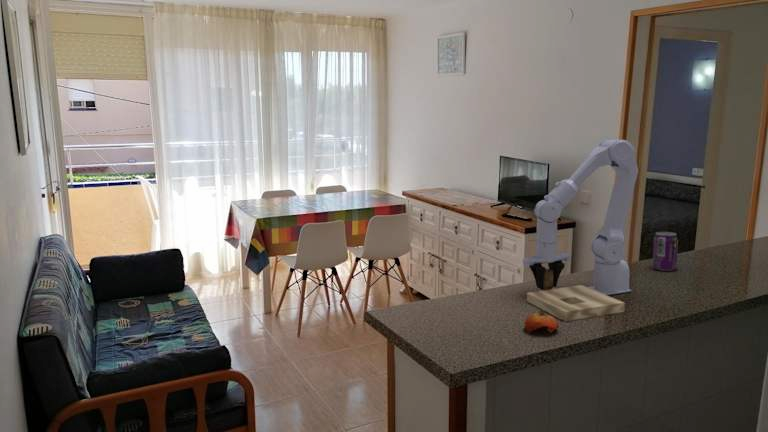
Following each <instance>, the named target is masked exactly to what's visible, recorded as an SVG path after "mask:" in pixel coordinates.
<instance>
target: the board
mask: <svg viewBox="0 0 768 432" xmlns="http://www.w3.org/2000/svg"><path fill="white" fill-rule="evenodd" d="M587 287H588V286H585V285H582V284H579V285H571V286H565V287H558V288H557V287H556V288H552V289H550V290H543V291H541V290H538V291H530V292H526V302H527V303H529V304H531V305H533V306H535V307H537V308H538V309H541V310H544V312H545V313H546V312H547V313H549V314H550V315H551V316H553V317H556V318H558V319H560V320H562V321H564V322H570V321H576V320H582V319H588V318H589V319H590V318H593V317H601V316H608V315H614V314H619V313H625V309H626V308H625V305H626V304H625V301H621V300H619V299H617V298H615V297H611V295H605V294H602V293H600V292H597V291H595V290H592V289H590V288H587Z"/></svg>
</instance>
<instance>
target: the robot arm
mask: <svg viewBox="0 0 768 432" xmlns="http://www.w3.org/2000/svg"><path fill="white" fill-rule="evenodd" d="M636 151H637V150H636V148H634V146H633V145H632V144H631V143H630V142H629V141H628V140H626V139H612V138H606V139H604V140H601V142H600V143H599V145H597V146H596V147H594V148H593V150H592V151H591V152H590V154H589V155H588V157H587V158H585V160H584V161H583V162H582V163H581V165H580V166H579V167H578V168H577V169H576V170H575V171H574V172H573V174H572V175H571V176H570V177H569V178H568V179H562V180H561V181H557V182H556V183H555V184H554V185H555V187H554V188H553V189H552V190H551V191H550V192H549V193H548V194H546V195H544V197H543V198H544V199H542V200H540V201H538V202H537V203H536V205H535V207H534V209H533V214H534V215H535V217H536V255H533V256H530V257H525V258H522V266H524V267H529V269H530V271H531V273H532V274H533V277H534V281H535V284H536V288H537V289H540V290H541V289H543V278H544V272H545V269H547V268H546V267H545V266H543V264H547V265H548V269H552V270H553V285H554V286H553V288H557V285H558V281H559V278H560V275H561V273H562V271H563V270H564V268H565V266H566V264H565V263H564V262H570V261H571V254H570V253H558V219H559V218H560V217H561V214H562V210H563V209H564V208H565V207H566V206H567V205H568V204H569V203H570V202H571V201H572V200H573V199H574V198H575V197H576V196H577V195H578V192H579V186H581V185H582V183H584V182H585V181H586V180H587V179H588V178H590V176H591V175H592V174H593V173H594V172H595V171H597V170H598V168H600V167H605V166H610V167H611V168H612V169H613V171H614V172H615V174H616V176H615V179H614V183H613V186H612V191H611V194H610V199H609V202H608V206H607V210H606V214H605V217H604V220H603V221H604V222H603V225H602V226H601V228H599V230H598V231H597V234H596V236H595V238H594V239H593V240H592V242H591V243H590V249H591V252H592V253H593V254H594V258H593V285H590V286H586V287H587V288H590V289H592V290H595V291H597V292H600V293H602V294H605V295H607V296H611V295H616V294H622V293H623V294H624V293H629V292H631V291H632V289H630V267H629V264H628V263H627V261H625V260H624V259H623V258H624V257H625V250H626V249H625V237H624V232H623V229H624V225H625V222H626V218H627V216H628V211H629V208H630V204H631V199H632V196H633V192H634V188H635V184H636V181H637V178H638V173H639V168H638V164H637V160H636Z"/></svg>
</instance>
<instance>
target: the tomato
mask: <svg viewBox="0 0 768 432" xmlns="http://www.w3.org/2000/svg"><path fill="white" fill-rule="evenodd" d="M542 327H547V331H548V332H549V333H552V332H554V330H557V329H558V330H559V328H560V326H559V322H558V321H557V320H556V318H555V316H553V315H547V314H546V312H545V311H544V310H542V309H541V311H538V312H534V313H531V314H529V315H528V316H527V317H526V319H525V320H524V330H525V331H526V332H527V333H528V334H530V335H532V333H531V332H532V331H534V330H538V329H541V328H542Z"/></svg>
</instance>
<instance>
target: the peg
mask: <svg viewBox="0 0 768 432" xmlns="http://www.w3.org/2000/svg"><path fill="white" fill-rule="evenodd" d="M553 286H554V285H553V270H552V269H549V268H546V269H545V272H544V278H543V289H540V291H543V290H550V289H554V287H553Z"/></svg>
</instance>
